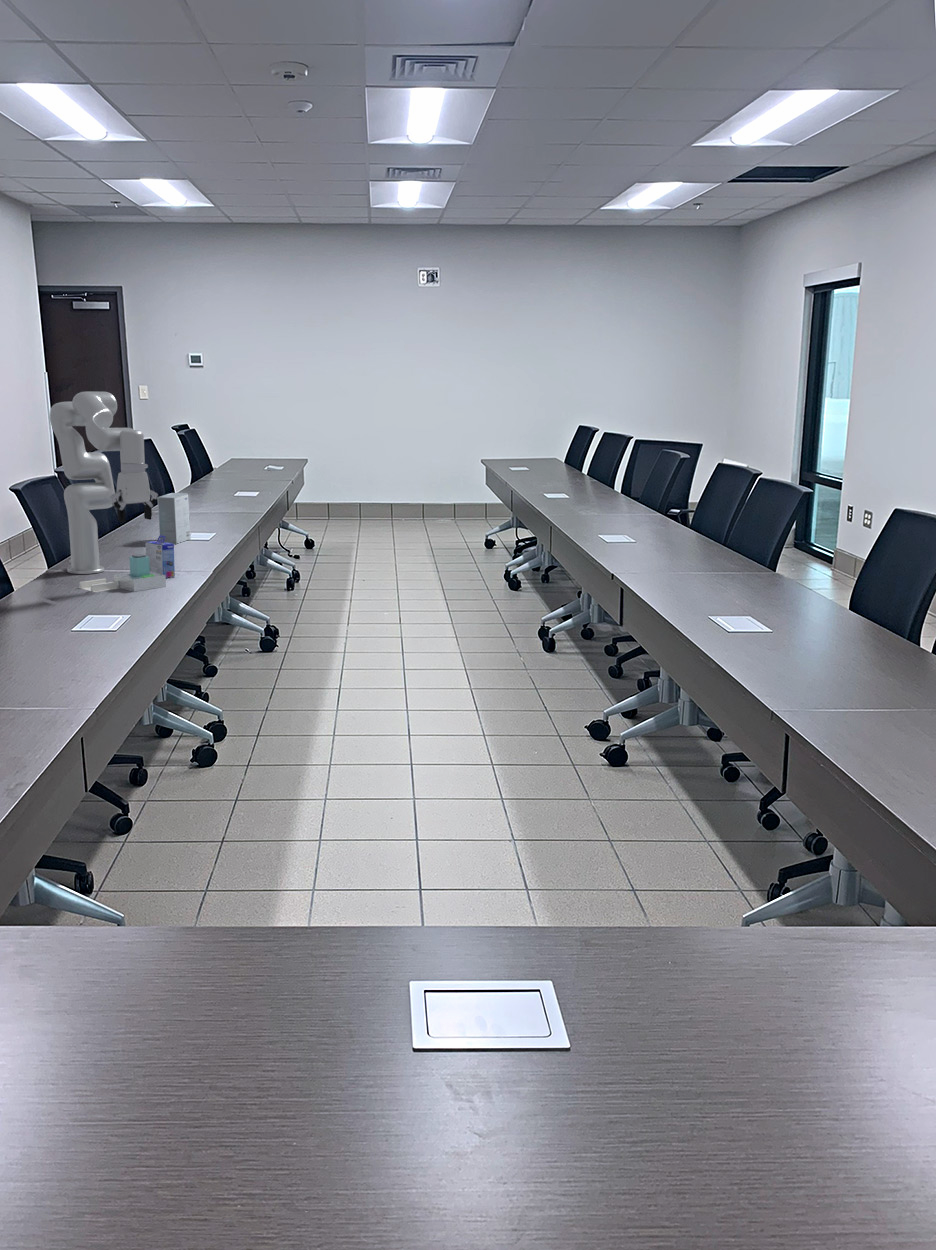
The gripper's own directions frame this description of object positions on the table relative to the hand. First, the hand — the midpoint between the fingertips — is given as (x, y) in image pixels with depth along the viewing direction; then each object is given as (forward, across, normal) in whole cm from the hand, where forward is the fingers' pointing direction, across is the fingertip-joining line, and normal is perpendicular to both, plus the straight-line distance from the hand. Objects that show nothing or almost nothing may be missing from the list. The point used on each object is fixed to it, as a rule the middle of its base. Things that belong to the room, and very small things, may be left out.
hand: (135, 520), depth 347 cm
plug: (+22, +1, +3) cm, 22 cm away
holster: (+23, +12, -4) cm, 26 cm away
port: (+23, +1, +3) cm, 23 cm away
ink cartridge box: (+23, -17, -12) cm, 32 cm away
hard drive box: (+25, -66, -76) cm, 103 cm away
